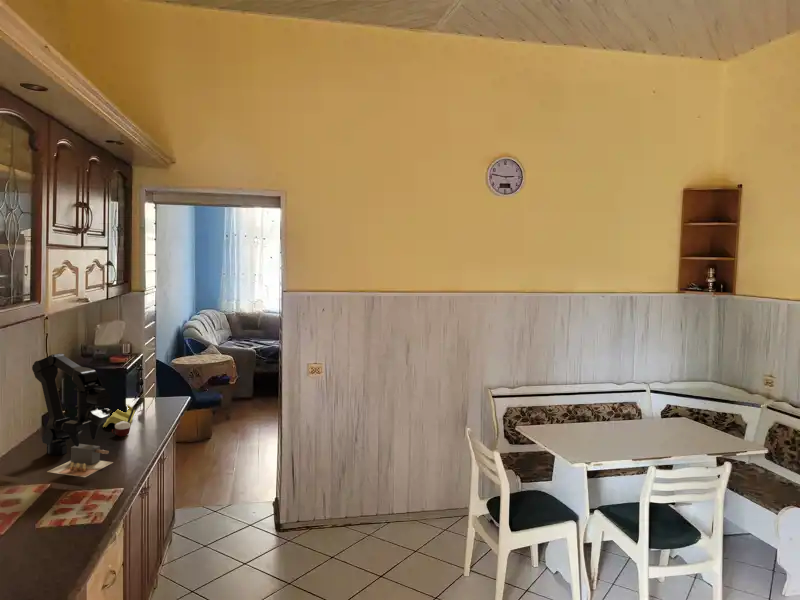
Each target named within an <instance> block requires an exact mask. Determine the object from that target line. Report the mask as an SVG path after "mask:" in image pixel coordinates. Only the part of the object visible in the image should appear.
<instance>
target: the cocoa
mask: <svg viewBox="0 0 800 600" xmlns="http://www.w3.org/2000/svg"><path fill="white" fill-rule="evenodd" d="M134 410H135V406H133V407H132V411H131V414H130V416H129V419H128V421H127V422H124V421H121V422H119V423H117V424H114V428H113V429H111V433H112V435H114V436H118V437H126V436H128V435H129V433H130V430H131V423H129V422H130V420H131V417H132V414H133V412H134Z"/></svg>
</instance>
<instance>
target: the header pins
mask: <svg viewBox="0 0 800 600" xmlns="http://www.w3.org/2000/svg"><path fill="white" fill-rule="evenodd" d="M73 470H74V462H71V471H73ZM78 471H80V463H77V472H78ZM83 472H86V464H85V463H84V464H83Z"/></svg>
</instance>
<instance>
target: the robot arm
mask: <svg viewBox="0 0 800 600" xmlns="http://www.w3.org/2000/svg"><path fill="white" fill-rule="evenodd" d="M31 370H32V372H33V374H34V377H35V379H36V380H37V381H38V382H39V383H41V389H42V391H43V397H44V401H45V404H46V410H47V413H48V415H47V416H48V418H49V419H48V421H47V424H46V426H45V427H46V431H45V433H44V434H43V435H42V437H41V439H42V440H41V441H42V444H45V445H46V454H48V455H50V456H63V455H65V454H68V444H67V441H70V440H71V441H72V443H73V444H74V445H73V446H77V447H78V446H79V444H80V436H81V433H82V432H83V431H84V429H83V428H84V425H85V424H88V427H89V432H90V437H91V439H92V440H96V437H97V435H98V432H99V429H100V427H101V426H102V424H103V425H104V423H106V421H107V419H108V418H110V413H111V409H109V408H105V407H107V406H108V405H109V404H110V402H111V395H110V393H108V392H107V391H106V388H104V385H103V383H102V380H101V379H100V377H99V374H98V373H97V371H96V370H95V369H93V368H90V367H85V366H81V365H80V364H77V363H76V362H74V361H73V360H71V359H70V358H68V357H67V356H65V354H64V353H53V354H50V355H49V356H46V357H45V358H42V359H40V360H36V361H34V363H33V364H32V366H31ZM59 370H60V371H62V372H64V373H66V375H69V376H70V377H71V381H72V382H73V384H75V385H76V386H75V387H74V388H73V390H74V391H77V403H76V404H77V405H75V406H74V409H75V410H77V412H76V413H77V415H76V416H74V420H73V419H72V420H71V418H70V417H67V416H66V415H64V412H63V408H62V403H61V400H60V394H59V391H58V386H57V381H56V379H57V376H58V373H59ZM98 408H104V409H98Z"/></svg>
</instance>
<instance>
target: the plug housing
mask: <svg viewBox="0 0 800 600" xmlns="http://www.w3.org/2000/svg"><path fill="white" fill-rule="evenodd" d="M70 452H71V453H70V461H71V462H74V463H80V464H84V463H85V464H86V465H93V464H95V463H97V462H100V461H101V454H104V455H109V453H110V451H109V450H104V449H101V446H100V445H94V444H84V443H79V446H78V447H77V446H75V445H73V446H71V447H70Z"/></svg>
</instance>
